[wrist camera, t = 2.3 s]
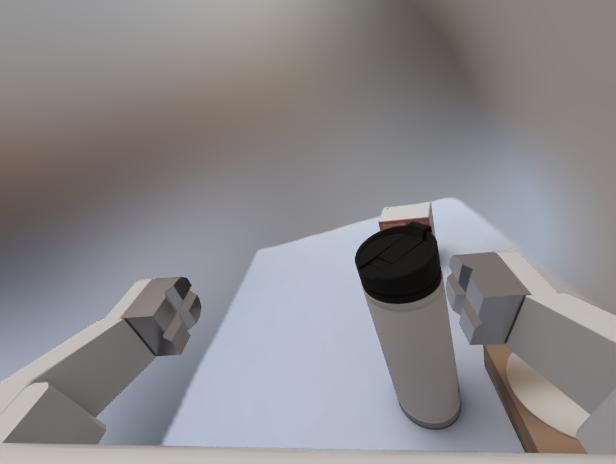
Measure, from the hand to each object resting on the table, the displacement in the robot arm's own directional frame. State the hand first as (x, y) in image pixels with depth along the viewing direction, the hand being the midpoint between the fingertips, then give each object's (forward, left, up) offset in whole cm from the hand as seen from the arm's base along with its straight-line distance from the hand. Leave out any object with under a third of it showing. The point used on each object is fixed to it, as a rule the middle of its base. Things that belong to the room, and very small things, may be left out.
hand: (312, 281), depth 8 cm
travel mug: (+12, -3, -26) cm, 29 cm away
